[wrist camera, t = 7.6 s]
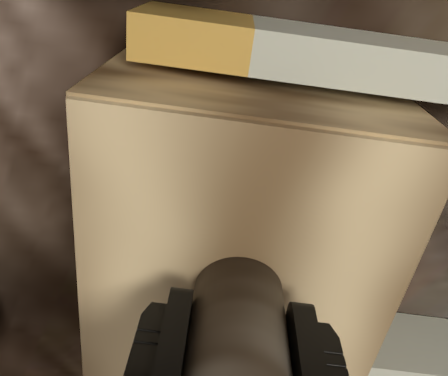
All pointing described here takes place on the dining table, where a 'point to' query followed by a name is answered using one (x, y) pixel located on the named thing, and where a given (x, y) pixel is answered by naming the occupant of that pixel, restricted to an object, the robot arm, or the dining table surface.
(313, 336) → the robot arm
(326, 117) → the box with grey peg
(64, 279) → the dining table surface
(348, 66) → the frame
